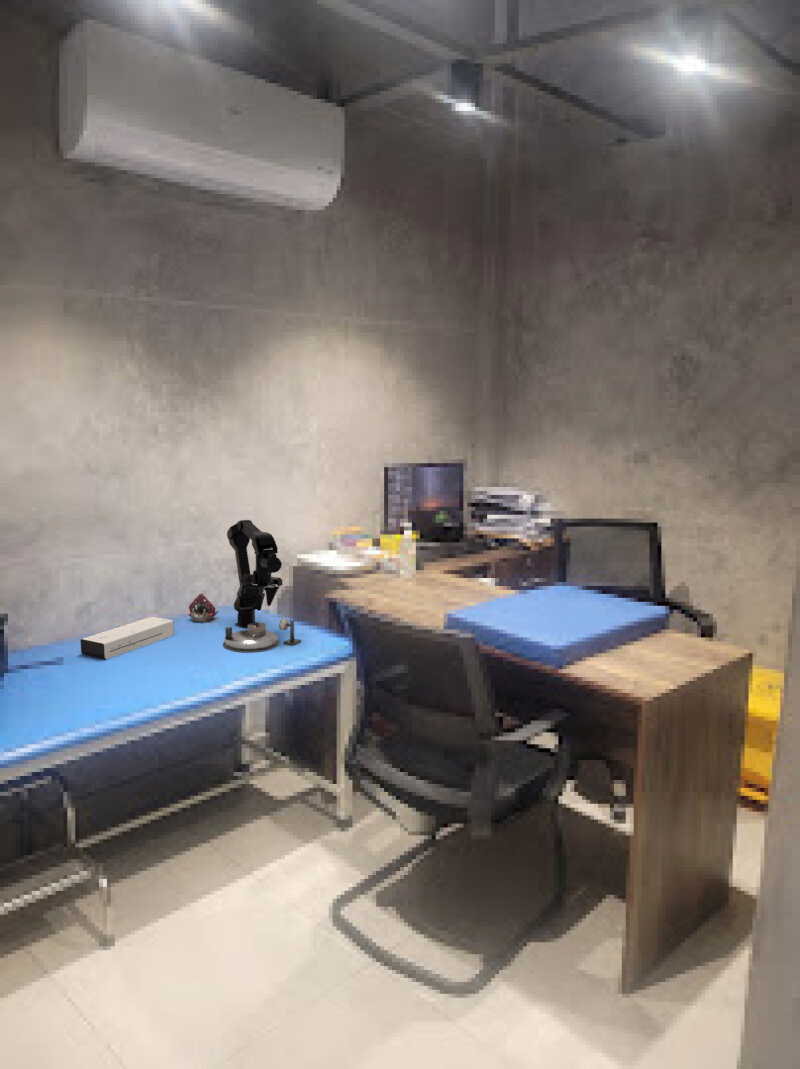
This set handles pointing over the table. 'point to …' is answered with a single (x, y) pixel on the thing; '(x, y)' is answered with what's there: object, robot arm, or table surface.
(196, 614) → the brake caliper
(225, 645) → the turntable base
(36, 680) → the table surface
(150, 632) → the laminator
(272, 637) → the turntable
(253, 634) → the cover
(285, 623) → the stand
